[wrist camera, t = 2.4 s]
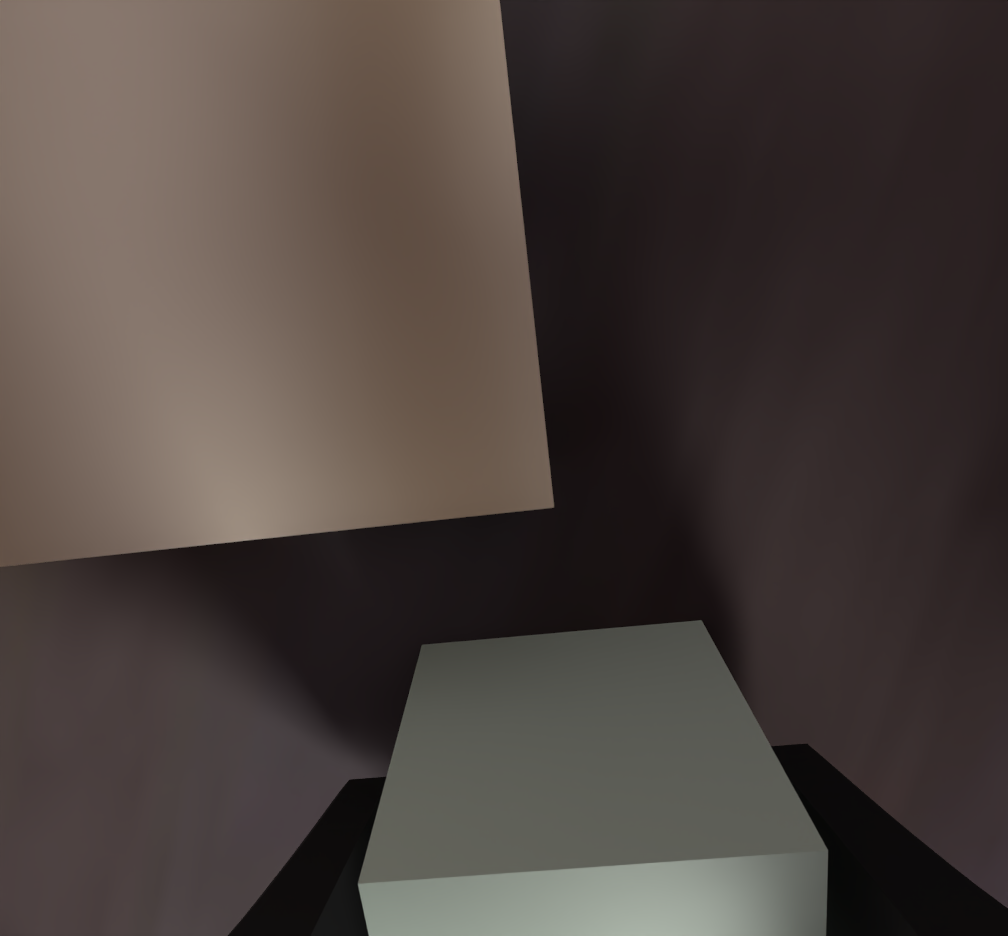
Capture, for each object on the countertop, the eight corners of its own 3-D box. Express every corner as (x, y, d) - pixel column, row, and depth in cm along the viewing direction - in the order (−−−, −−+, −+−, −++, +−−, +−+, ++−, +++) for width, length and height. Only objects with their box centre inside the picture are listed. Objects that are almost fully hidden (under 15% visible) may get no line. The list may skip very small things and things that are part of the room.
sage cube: (699, 617, 10) (828, 849, 6) (708, 844, 12) (819, 1173, 7) (422, 642, 11) (357, 883, 6) (457, 862, 12) (423, 1191, 8)
